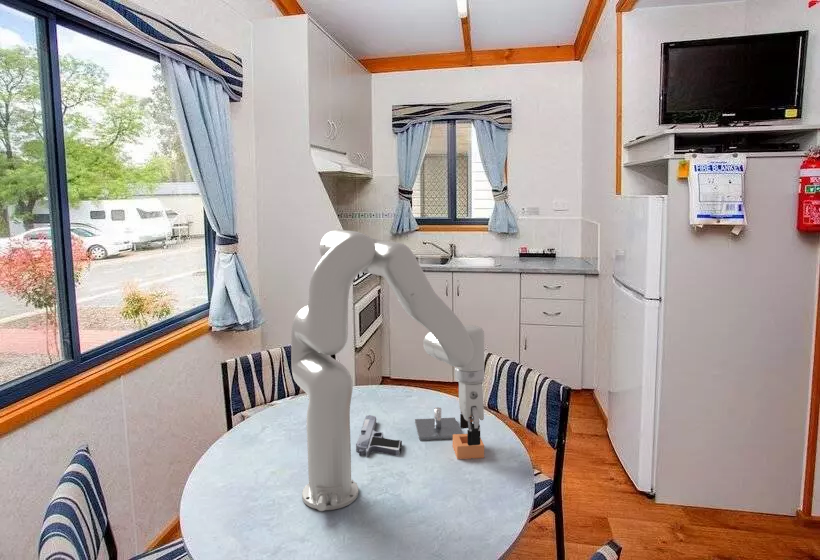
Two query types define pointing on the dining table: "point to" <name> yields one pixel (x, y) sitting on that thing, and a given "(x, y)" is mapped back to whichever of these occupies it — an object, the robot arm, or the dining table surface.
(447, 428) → the plate
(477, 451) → the orange square ring block
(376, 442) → the handgun
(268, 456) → the dining table surface
